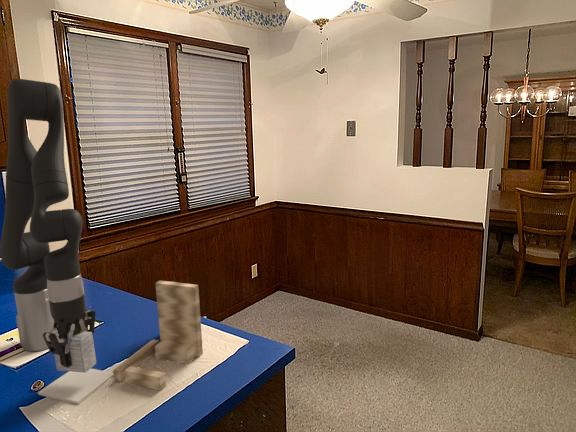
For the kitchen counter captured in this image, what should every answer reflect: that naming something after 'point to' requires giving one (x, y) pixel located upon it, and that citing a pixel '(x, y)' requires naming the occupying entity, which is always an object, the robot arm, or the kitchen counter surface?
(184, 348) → the slotted stand
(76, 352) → the medicine box
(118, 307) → the kitchen counter surface
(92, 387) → the grey mat
